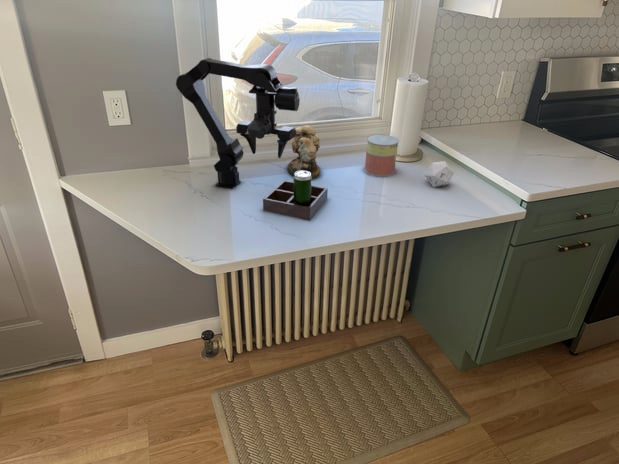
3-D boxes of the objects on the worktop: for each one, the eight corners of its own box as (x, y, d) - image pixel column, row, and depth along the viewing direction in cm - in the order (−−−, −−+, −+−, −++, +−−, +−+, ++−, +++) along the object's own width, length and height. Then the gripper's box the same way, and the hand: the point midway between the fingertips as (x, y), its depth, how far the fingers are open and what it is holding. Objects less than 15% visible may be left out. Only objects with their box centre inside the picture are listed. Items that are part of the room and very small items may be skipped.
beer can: (299, 215, 141) (299, 178, 135) (290, 208, 144) (290, 172, 138) (314, 211, 143) (315, 175, 137) (304, 204, 147) (305, 168, 141)
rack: (263, 210, 144) (262, 198, 142) (283, 191, 157) (283, 179, 155) (309, 220, 140) (310, 208, 138) (327, 199, 152) (327, 188, 150)
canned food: (396, 176, 170) (400, 145, 163) (365, 176, 170) (368, 144, 163) (392, 165, 179) (396, 134, 173) (363, 164, 179) (365, 134, 173)
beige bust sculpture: (281, 163, 178) (281, 119, 170) (311, 160, 182) (312, 117, 173) (294, 181, 164) (295, 134, 155) (326, 178, 167) (328, 132, 158)
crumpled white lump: (419, 186, 165) (432, 171, 156) (424, 166, 169) (437, 151, 160) (440, 195, 165) (454, 182, 156) (445, 176, 169) (460, 161, 160)
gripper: (225, 111, 140) (229, 159, 148) (282, 118, 135) (282, 169, 143) (243, 102, 149) (245, 148, 157) (297, 109, 144) (296, 157, 152)
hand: (266, 155), depth 152 cm, fingers open, 9 cm apart
